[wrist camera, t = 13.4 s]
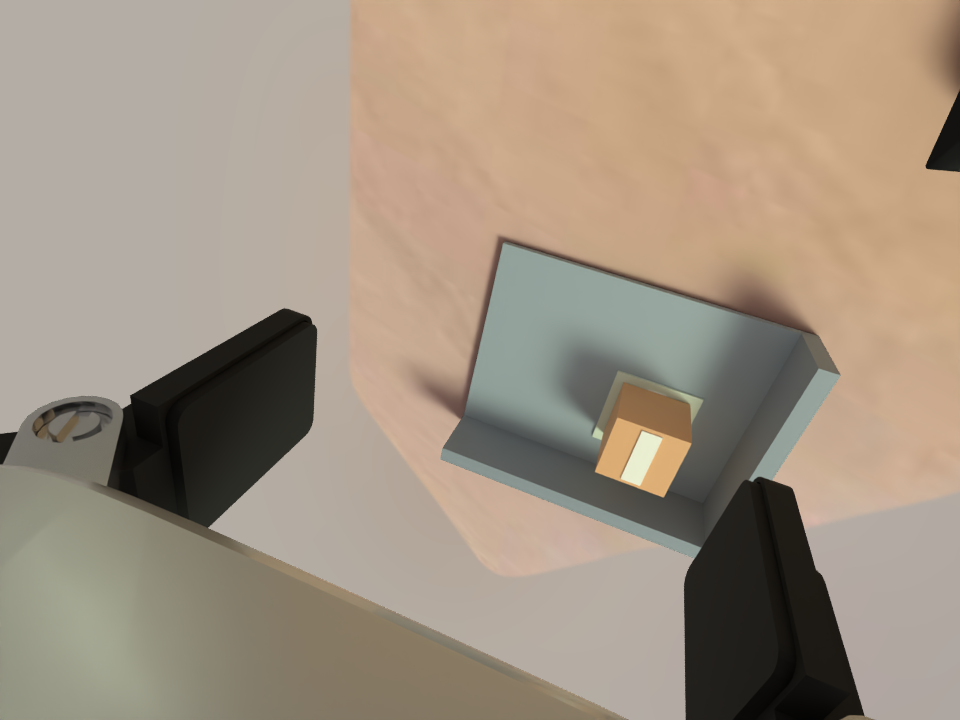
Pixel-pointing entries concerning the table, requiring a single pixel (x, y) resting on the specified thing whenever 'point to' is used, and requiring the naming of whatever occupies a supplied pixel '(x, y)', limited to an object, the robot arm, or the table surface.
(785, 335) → the grey blue tray
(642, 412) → the cube
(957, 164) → the black hollow angular block
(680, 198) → the table surface
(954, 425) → the table surface
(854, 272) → the table surface
